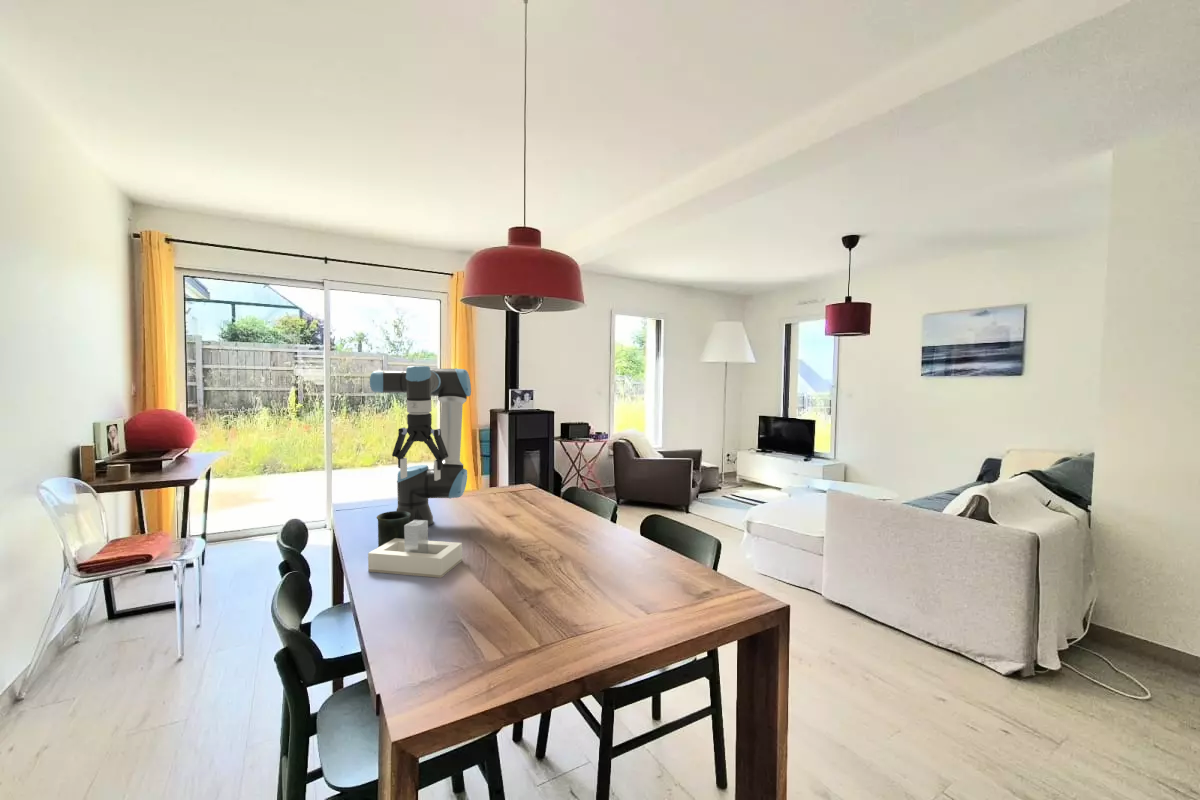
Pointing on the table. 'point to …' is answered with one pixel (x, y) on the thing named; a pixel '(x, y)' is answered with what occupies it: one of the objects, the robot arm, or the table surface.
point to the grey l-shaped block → (416, 536)
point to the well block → (415, 559)
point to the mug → (391, 526)
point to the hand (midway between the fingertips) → (420, 478)
